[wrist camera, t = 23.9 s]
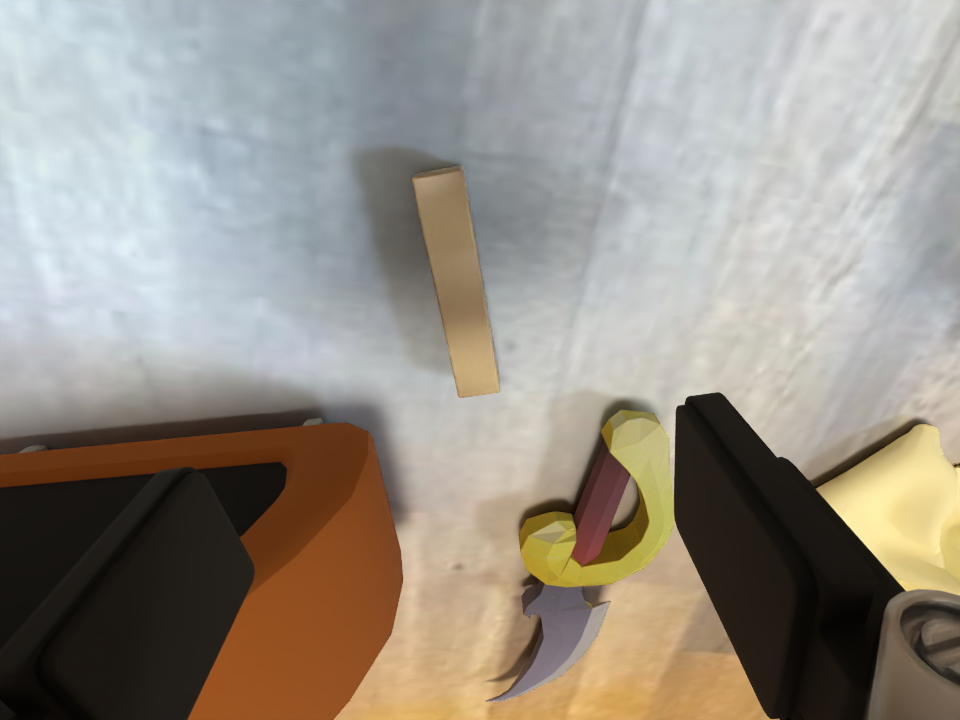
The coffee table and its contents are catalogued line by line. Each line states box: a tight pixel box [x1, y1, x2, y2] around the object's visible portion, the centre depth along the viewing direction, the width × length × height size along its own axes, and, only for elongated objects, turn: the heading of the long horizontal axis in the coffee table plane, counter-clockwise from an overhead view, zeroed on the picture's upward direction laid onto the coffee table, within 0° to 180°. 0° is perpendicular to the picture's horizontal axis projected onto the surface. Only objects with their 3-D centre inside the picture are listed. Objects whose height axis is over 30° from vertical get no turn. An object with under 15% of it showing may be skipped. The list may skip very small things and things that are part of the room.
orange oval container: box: [0, 418, 403, 720], centre depth 20 cm, size 23×9×17 cm, turn 96°
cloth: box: [816, 424, 960, 596], centre depth 28 cm, size 22×19×6 cm
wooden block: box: [412, 165, 500, 398], centre depth 22 cm, size 10×2×2 cm, turn 10°
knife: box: [487, 410, 674, 701], centre depth 30 cm, size 8×3×25 cm
